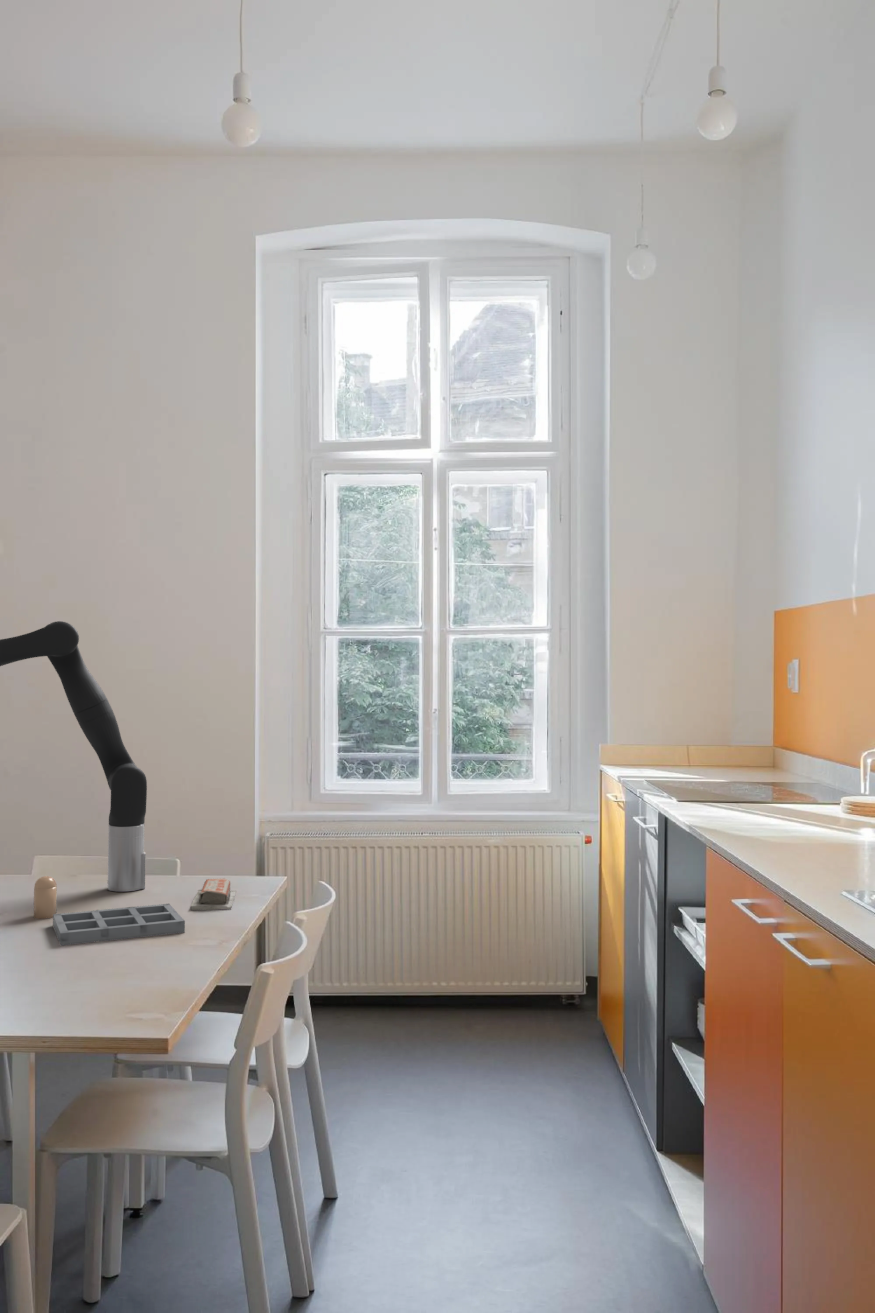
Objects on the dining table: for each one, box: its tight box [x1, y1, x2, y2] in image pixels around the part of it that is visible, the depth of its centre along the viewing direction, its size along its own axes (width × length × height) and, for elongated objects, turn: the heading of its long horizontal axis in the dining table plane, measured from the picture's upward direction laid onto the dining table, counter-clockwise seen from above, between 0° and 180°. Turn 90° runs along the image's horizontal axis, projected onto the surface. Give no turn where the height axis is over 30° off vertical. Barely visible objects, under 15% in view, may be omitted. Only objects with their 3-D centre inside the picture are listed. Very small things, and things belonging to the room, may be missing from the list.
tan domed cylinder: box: [33, 875, 58, 920], centre depth 234 cm, size 5×5×10 cm
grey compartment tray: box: [52, 903, 186, 946], centre depth 223 cm, size 26×18×3 cm
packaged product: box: [190, 878, 237, 911], centre depth 250 cm, size 18×5×10 cm
